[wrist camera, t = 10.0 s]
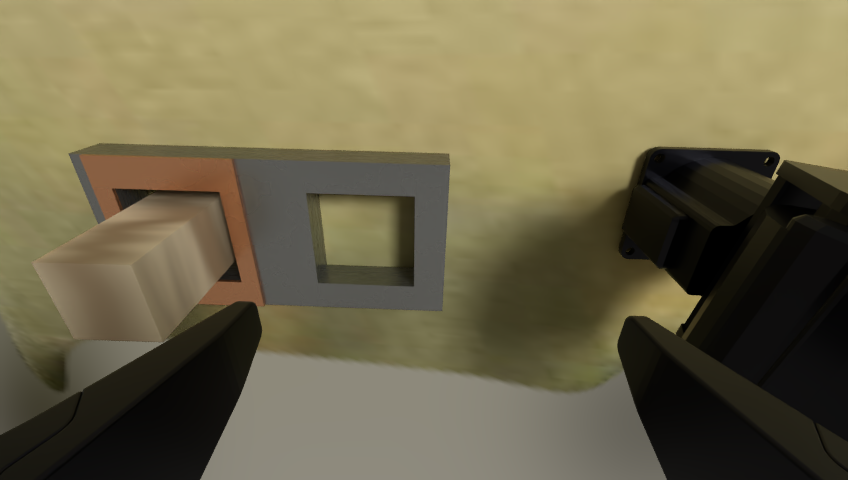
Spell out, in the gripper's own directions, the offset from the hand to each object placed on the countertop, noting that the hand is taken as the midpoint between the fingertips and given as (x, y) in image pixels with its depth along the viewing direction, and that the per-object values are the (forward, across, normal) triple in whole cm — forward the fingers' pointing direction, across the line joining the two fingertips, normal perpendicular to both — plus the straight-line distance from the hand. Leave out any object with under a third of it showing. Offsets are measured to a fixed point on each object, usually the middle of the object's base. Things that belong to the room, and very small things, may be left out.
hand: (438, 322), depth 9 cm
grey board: (+13, +9, +4) cm, 16 cm away
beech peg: (+13, +14, +4) cm, 19 cm away
